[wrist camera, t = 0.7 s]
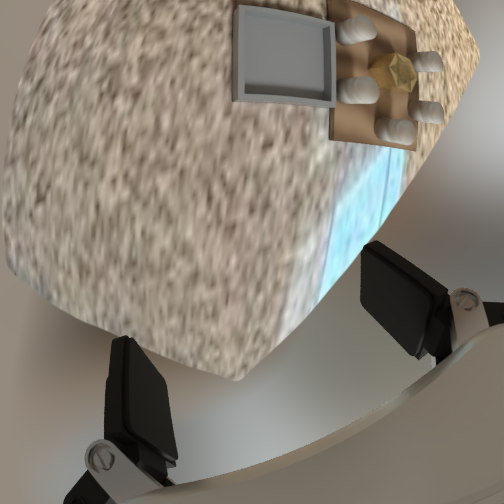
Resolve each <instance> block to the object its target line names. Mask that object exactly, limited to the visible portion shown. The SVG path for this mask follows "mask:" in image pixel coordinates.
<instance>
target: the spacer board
mask: <svg viewBox="0 0 504 504" xmlns="http://www.w3.org/2000/svg"><path fill="white" fill-rule="evenodd" d="M327 3H328V16H329V21H330V22H333V23H334V24H335V44H336V108H330V137H329V140H333V141H343V142H353V143H363V144H371V145H379V146H386V147H393V148H399V149H405V150H411V151H416V147H417V133H418V121H422V122H429V123H435V124H441V123H442V122H443V119H444V110H443V107H442V105H441V104H440V103H439V102H431V101H419V81H418V72H441V71H442V70H443V62H442V59H441V57H440V55H439V54H438V53H437V52H435V51H430V52H417V46H416V36H415V31H414V30H412V29H410V28H409V27H407V26H405V25H403V24H401V23H399V22H397V21H395V20H393V19H391V18H389V17H387V16H385V15H383V14H381V13H379V12H377V11H374V10H372V9H370V8H367V7H365V6H363V5H360V4H358V3H355V2H353V1H350V0H327ZM391 53H398V54H400V55H402V56H404V57H406V58H408V59H410V60H411V63H412V65H413V68H414V71H415V73H416V76H417V81H416V83H415V85H414V87H413V90H412V92H388V91H385V90H381V89H379V87H378V84H377V83H376V81H375V80H374V79H373V78H371V75H370V73H369V71H368V68H369V66H370V64H371V63H372V61H373V59H374V57H375V56H378V55H384V54H391Z"/></svg>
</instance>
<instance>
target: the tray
mask: <svg viewBox="0 0 504 504" xmlns="http://www.w3.org/2000/svg"><path fill="white" fill-rule="evenodd" d="M232 102H260V103H279V104H292V105H303V106H312V107H321V108H336V44H335V24H334V23H333V22H330V21H326V20H323V19H319V18H315V17H311V16H307V15H303V14H298V13H293V12H288V11H283V10H277V9H271V8H264V7H257V6H248V5H238V6H237V8H236V9H235V11H234V12H233V52H232Z"/></svg>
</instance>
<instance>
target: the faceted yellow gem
mask: <svg viewBox="0 0 504 504" xmlns="http://www.w3.org/2000/svg"><path fill="white" fill-rule="evenodd" d="M368 71H369V73H370V75H371V78H373V79H374V80H375V81H376V83H377V84H378V87H379V89H381V90H385V91H388V92H412V90H413V87H414V85H415V83H416V81H417V76H416V73H415V71H414V68H413V65H412V63H411V60H410V59H408V58H406V57H404V56H402V55H400V54H398V53H391V54H384V55H378V56H375V57H374V59H373V61H372V63H371V64H370V66H369V68H368Z"/></svg>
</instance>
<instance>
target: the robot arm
mask: <svg viewBox="0 0 504 504" xmlns="http://www.w3.org/2000/svg"><path fill="white" fill-rule="evenodd" d="M447 292H448V289H447V288H445V287H444V286H443V285H441V284H440V283H439V282H437V281H436V280H435V279H433V278H432V277H430V276H429V275H427V274H426V273H425V272H423V271H422V270H421V269H419V268H418V267H416V266H415V265H414V264H412V263H411V262H409V261H408V260H406V259H405V258H403V257H402V256H400V255H399V254H397V253H396V252H394V251H393V250H391V249H390V248H388V247H386V246H385V245H384V244H382V243H381V242H379V241H377V240H376V241H373V242H370V243H368V244H366V245H364V247H363V250H362V251H361V290H360V293H361V294H360V301H361V304H362V306H363V307H364V309H366V311H368V313H370V314H371V316H373V318H374V319H376V321H378V323H379V324H380V325H381V326H382V327H383V328H384V329H385V330H386V331H387V332H388V333H389V334H390V335H391V336H392V337H393V338H394V339H395V340H396V341H397V342H398V343H399V344H400V345H401V346H402V347H403V348H404V349H405V350H406V351H407V353H408V354H409V355H411V356H415V357H416V358H417V359H418V360H420V359H421V358H422V357H423V356H425V355H426V354H427V353H429V354H431V356H432V370H430V371H429V372H428V373H427V374H426V375H424V376H423V377H421V378H420V379H419V380H418V381H416V382H415V383H414V384H412V385H411V386H409V387H408V388H407V389H405V390H404V391H402V392H401V393H399V394H398V395H396V396H395V397H393V398H392V399H390V400H389V401H387V402H386V403H384V404H383V405H381V406H379V407H378V408H376V409H375V410H373V411H371V412H370V413H368V414H366V415H365V416H363V417H361V418H359V419H358V420H356V421H354V422H352V423H351V424H349V425H347V426H345V427H343V428H341V429H340V430H338V431H336V432H333V433H331V434H329V435H327V436H325V437H323V438H322V439H319V440H317V441H315V442H313V443H310V444H308V445H306V446H304V447H301V448H299V449H297V450H294V451H292V452H289V453H287V454H284V455H282V456H279V457H276V458H274V459H271V460H269V461H265V462H263V463H259V464H256V465H254V466H250V467H247V468H244V469H241V470H237V471H233V472H230V473H226V474H223V475H219V476H215V477H211V478H207V479H203V480H198V481H194V482H189V483H184V484H177V483H176V482H174V481H173V480H172V479H170V478H169V477H168V476H167V475H168V473H167V468H173V467H176V462H175V460H177V459H178V453H177V448H176V442H175V437H174V431H173V425H172V419H171V413H170V406H169V398H168V391H167V384H166V382H165V380H164V378H163V377H162V375H161V374H160V373H159V372H158V370H157V369H156V368H155V367H154V365H153V364H152V363H151V361H150V360H149V359H148V357H147V356H146V355H145V353H144V352H143V350H142V349H141V348H140V346H139V345H138V344H137V342H136V341H135V339H134V338H132V337H131V338H129V337H128V336H127V335H125V336H122V337H119V338H115V339H113V340H112V346H111V354H110V364H109V376H108V378H107V380H106V390H105V410H104V411H105V412H104V439H101V440H97V441H94V442H93V443H92V444H90V446H89V447H88V448H87V450H86V453H85V464H86V467H87V468H88V470H87V471H86V472H85V474H84V475H83V476H82V477H81V478H80V479H79V481H78V482H77V483H76V484H75V486H74V487H73V488H72V489H71V491H70V492H69V493H68V494H67V495H66V497H65V499H64V502H63V504H504V303H500V302H482V300H481V298H480V296H479V295H478V294H477V293H476V292H475V291H473V290H471V289H468V288H457V289H455V290H454V291H453V292H452V293H451V295H449V294H447Z"/></svg>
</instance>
